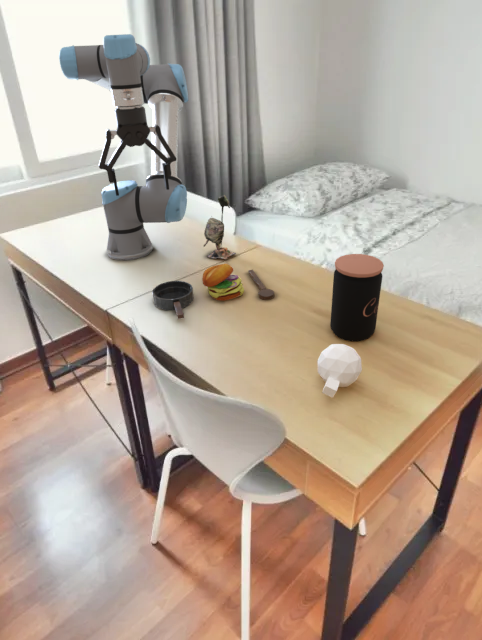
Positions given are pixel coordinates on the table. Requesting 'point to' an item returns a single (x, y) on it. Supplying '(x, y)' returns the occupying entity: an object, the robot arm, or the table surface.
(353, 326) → the coffee jar
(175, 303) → the pan handle
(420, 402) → the table surface
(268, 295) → the wooden spoon
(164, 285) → the pan
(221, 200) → the grey brown figurine
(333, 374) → the perfume bottle
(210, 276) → the cheeseburger
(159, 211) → the robot arm
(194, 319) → the table surface
